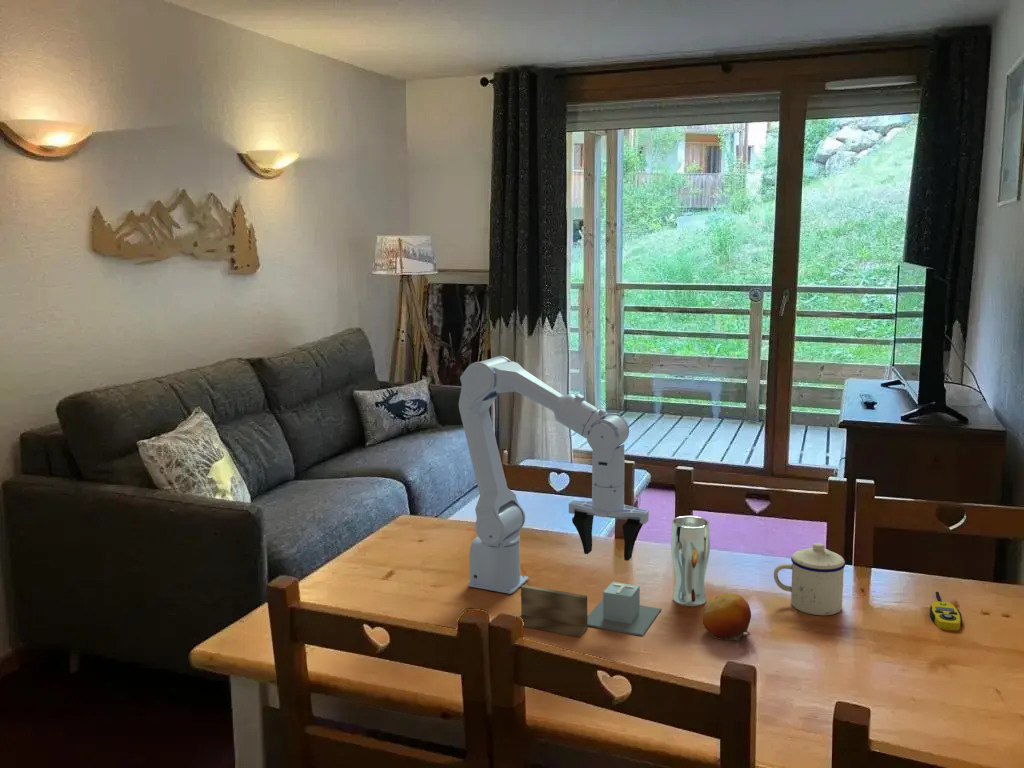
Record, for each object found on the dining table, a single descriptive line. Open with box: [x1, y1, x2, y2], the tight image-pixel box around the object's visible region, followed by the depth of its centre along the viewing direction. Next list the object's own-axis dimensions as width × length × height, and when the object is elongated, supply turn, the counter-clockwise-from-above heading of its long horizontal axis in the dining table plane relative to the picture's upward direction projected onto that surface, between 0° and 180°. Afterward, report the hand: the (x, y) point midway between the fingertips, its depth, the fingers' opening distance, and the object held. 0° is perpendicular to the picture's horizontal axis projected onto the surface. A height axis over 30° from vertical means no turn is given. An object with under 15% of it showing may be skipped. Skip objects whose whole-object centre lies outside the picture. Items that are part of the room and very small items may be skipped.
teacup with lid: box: [773, 542, 846, 616], centre depth 154 cm, size 12×9×12 cm
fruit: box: [701, 592, 752, 642], centre depth 144 cm, size 8×8×8 cm
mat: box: [587, 598, 662, 637], centre depth 151 cm, size 11×11×1 cm
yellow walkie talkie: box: [929, 591, 963, 632], centre depth 151 cm, size 5×2×15 cm
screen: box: [519, 584, 588, 638], centre depth 148 cm, size 12×4×6 cm, turn 64°
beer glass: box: [670, 515, 711, 607], centre depth 157 cm, size 7×7×15 cm
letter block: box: [602, 581, 641, 624], centre depth 151 cm, size 5×5×5 cm
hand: (607, 555), depth 156 cm, fingers open, 7 cm apart
